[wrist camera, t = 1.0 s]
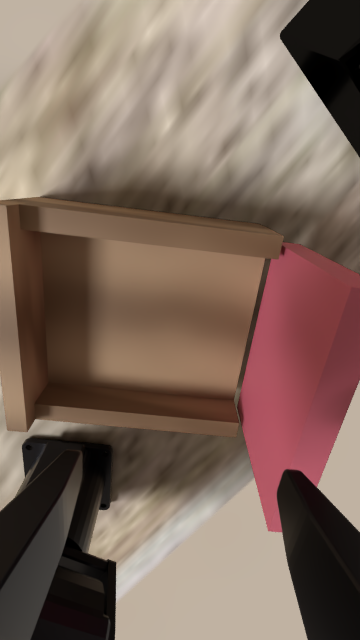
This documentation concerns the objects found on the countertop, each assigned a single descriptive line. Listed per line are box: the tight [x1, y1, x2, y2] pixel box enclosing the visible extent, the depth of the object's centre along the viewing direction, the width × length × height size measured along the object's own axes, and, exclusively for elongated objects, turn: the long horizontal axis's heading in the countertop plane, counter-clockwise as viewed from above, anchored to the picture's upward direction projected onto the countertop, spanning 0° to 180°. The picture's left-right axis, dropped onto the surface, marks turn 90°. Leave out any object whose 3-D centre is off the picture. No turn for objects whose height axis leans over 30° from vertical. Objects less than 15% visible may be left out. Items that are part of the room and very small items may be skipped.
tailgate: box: [237, 242, 360, 532], centre depth 14 cm, size 10×2×8 cm, turn 173°
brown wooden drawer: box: [0, 197, 284, 437], centre depth 17 cm, size 11×12×6 cm
